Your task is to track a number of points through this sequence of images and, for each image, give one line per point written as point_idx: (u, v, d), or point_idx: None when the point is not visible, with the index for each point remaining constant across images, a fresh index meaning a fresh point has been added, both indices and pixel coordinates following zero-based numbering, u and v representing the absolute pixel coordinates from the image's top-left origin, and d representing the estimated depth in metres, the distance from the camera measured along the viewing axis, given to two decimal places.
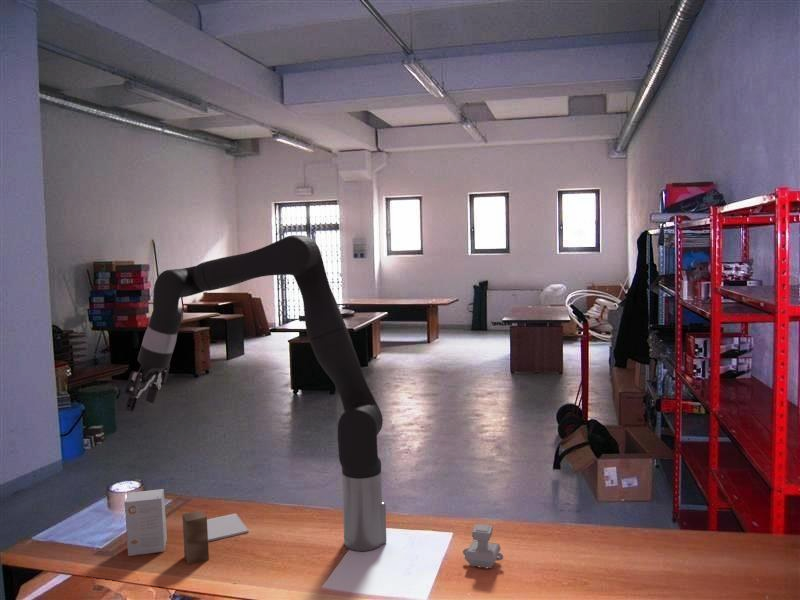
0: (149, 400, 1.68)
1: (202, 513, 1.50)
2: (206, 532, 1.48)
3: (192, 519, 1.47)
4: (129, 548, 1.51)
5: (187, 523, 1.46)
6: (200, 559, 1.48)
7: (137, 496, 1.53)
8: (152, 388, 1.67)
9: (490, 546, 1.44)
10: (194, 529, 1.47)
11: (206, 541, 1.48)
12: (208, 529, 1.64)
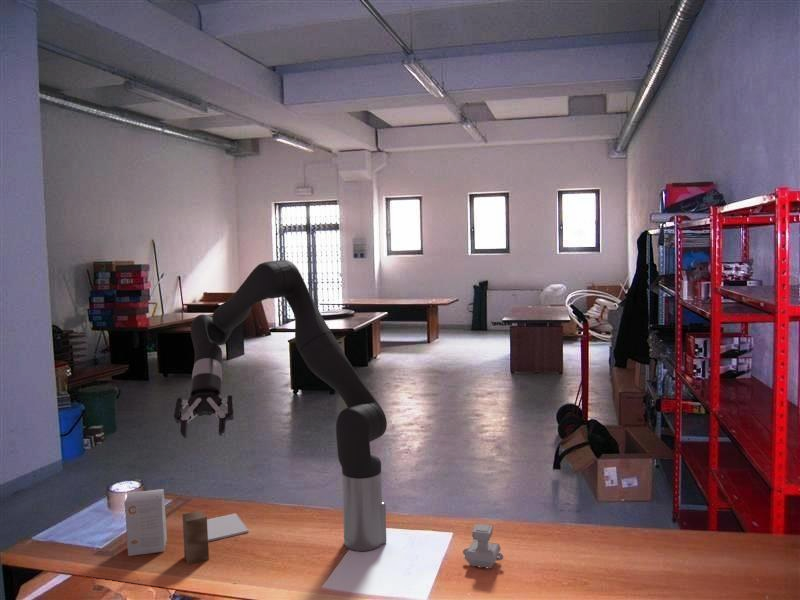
0: (219, 432, 1.63)
1: (202, 513, 1.50)
2: (206, 532, 1.48)
3: (192, 519, 1.47)
4: (129, 548, 1.51)
5: (187, 523, 1.46)
6: (200, 559, 1.48)
7: (137, 496, 1.53)
8: None
9: (490, 546, 1.44)
10: (194, 529, 1.47)
11: (206, 541, 1.48)
12: (208, 529, 1.64)
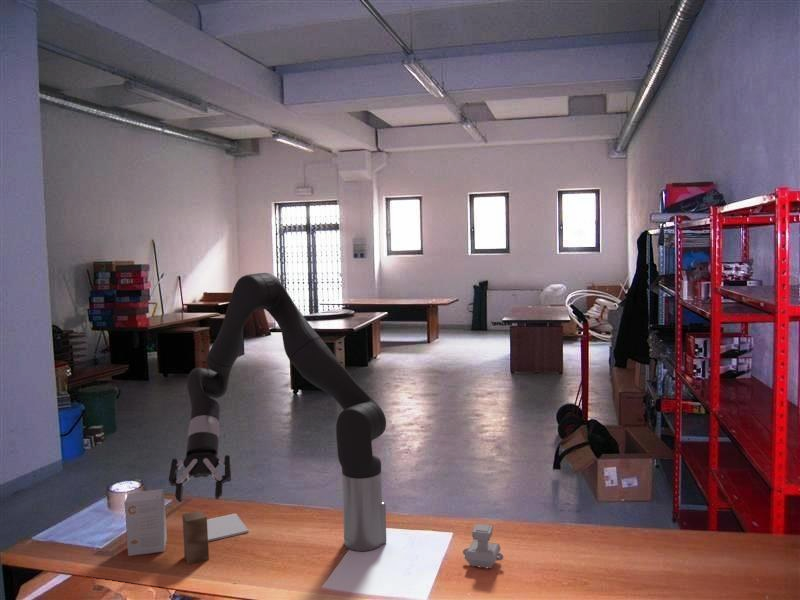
0: None
1: (202, 513, 1.50)
2: (206, 532, 1.48)
3: (192, 519, 1.47)
4: (129, 548, 1.51)
5: (187, 523, 1.46)
6: (200, 559, 1.48)
7: (137, 496, 1.53)
8: None
9: (490, 546, 1.44)
10: (194, 529, 1.47)
11: (206, 541, 1.48)
12: (208, 529, 1.64)
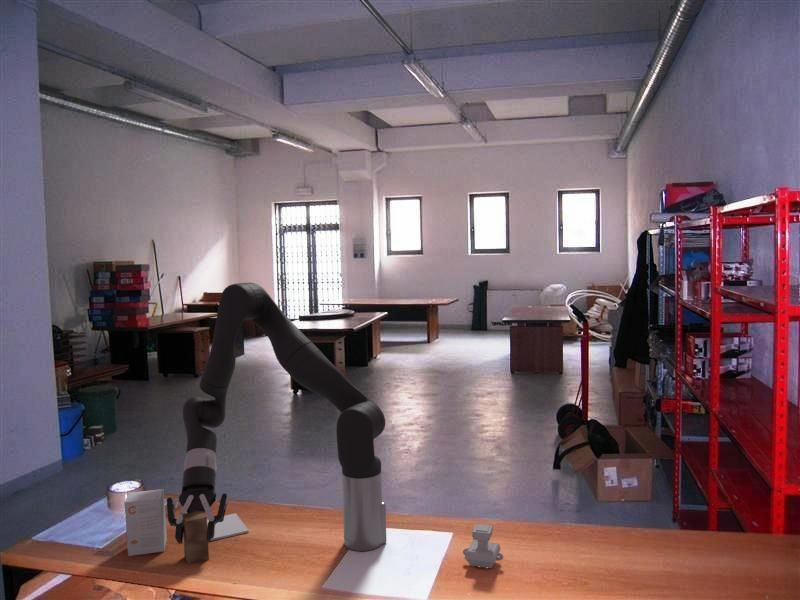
0: (207, 538, 1.48)
1: (202, 513, 1.50)
2: (206, 532, 1.48)
3: (192, 519, 1.47)
4: (129, 548, 1.51)
5: (187, 523, 1.46)
6: (200, 559, 1.48)
7: (137, 496, 1.53)
8: None
9: (490, 546, 1.44)
10: (194, 529, 1.47)
11: (206, 541, 1.48)
12: None
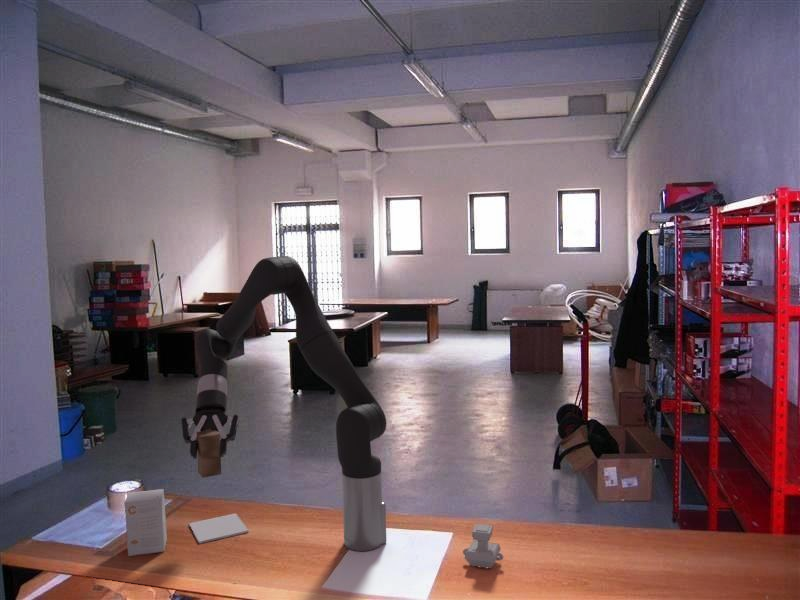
0: (220, 454, 1.59)
1: (215, 431, 1.60)
2: (219, 448, 1.59)
3: (206, 435, 1.57)
4: (129, 548, 1.51)
5: (201, 438, 1.56)
6: (213, 473, 1.58)
7: (137, 496, 1.53)
8: None
9: (490, 546, 1.44)
10: (208, 445, 1.57)
11: (219, 457, 1.59)
12: (208, 529, 1.64)
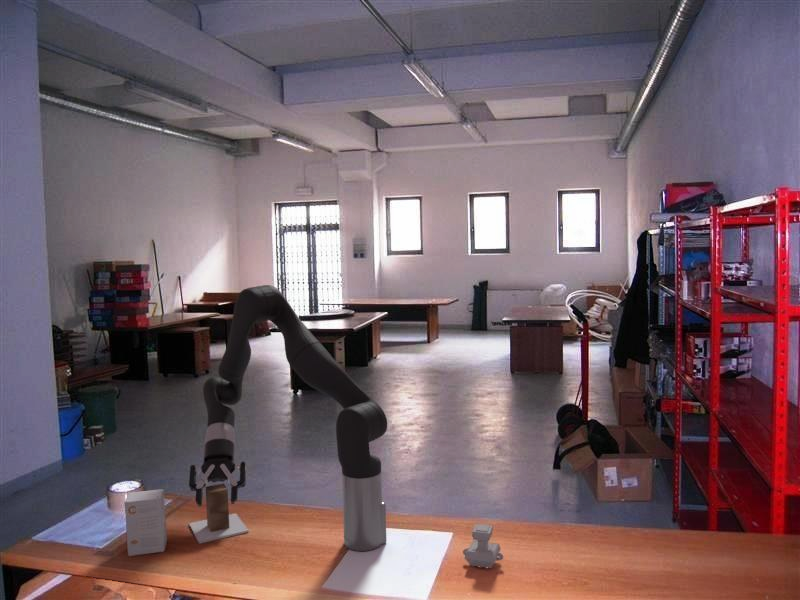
0: (231, 501, 1.64)
1: (223, 486, 1.65)
2: (227, 503, 1.63)
3: (214, 491, 1.62)
4: (129, 548, 1.51)
5: (210, 494, 1.61)
6: (221, 527, 1.63)
7: (137, 496, 1.53)
8: None
9: (490, 546, 1.44)
10: (216, 500, 1.62)
11: (227, 511, 1.64)
12: (208, 529, 1.64)
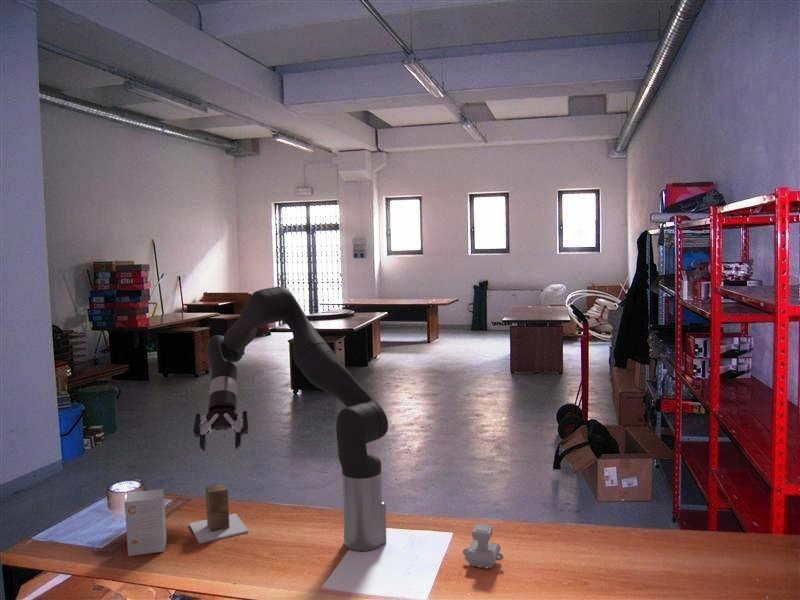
0: (235, 446, 1.76)
1: (223, 486, 1.65)
2: (227, 503, 1.63)
3: (214, 491, 1.62)
4: (129, 548, 1.51)
5: (210, 494, 1.61)
6: (221, 527, 1.63)
7: (137, 496, 1.53)
8: None
9: (490, 546, 1.44)
10: (216, 500, 1.62)
11: (227, 511, 1.64)
12: (208, 529, 1.64)
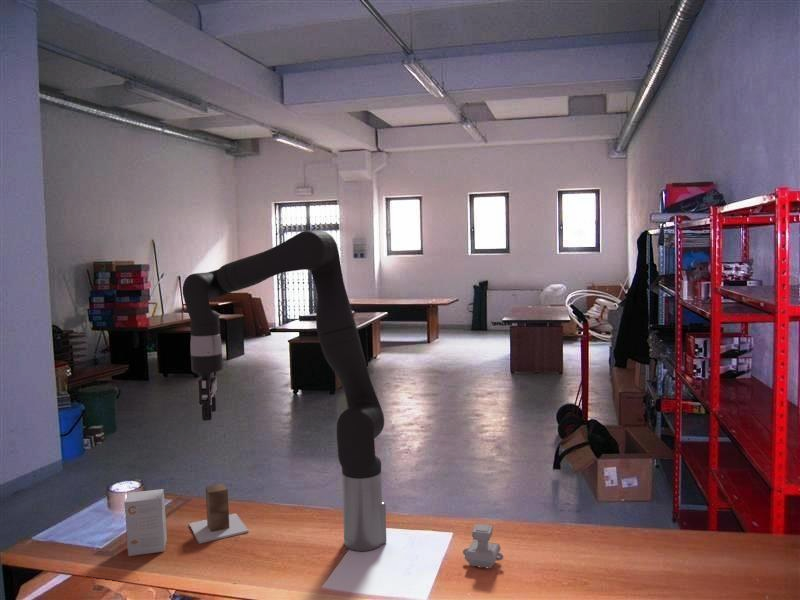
0: None
1: (223, 486, 1.65)
2: (227, 503, 1.63)
3: (214, 491, 1.62)
4: (129, 548, 1.51)
5: (210, 494, 1.61)
6: (221, 527, 1.63)
7: (137, 496, 1.53)
8: None
9: (490, 546, 1.44)
10: (216, 500, 1.62)
11: (227, 511, 1.64)
12: (208, 529, 1.64)
